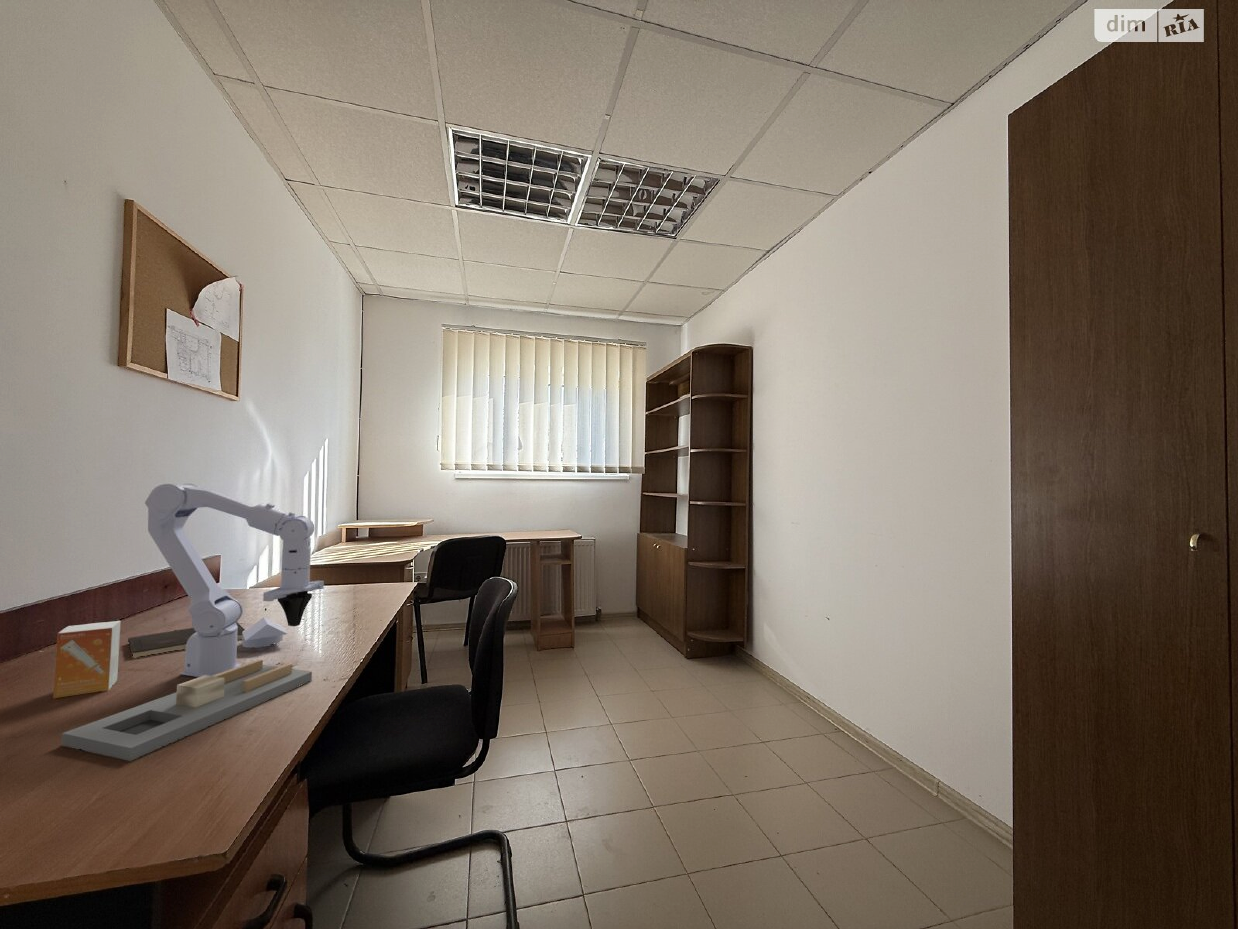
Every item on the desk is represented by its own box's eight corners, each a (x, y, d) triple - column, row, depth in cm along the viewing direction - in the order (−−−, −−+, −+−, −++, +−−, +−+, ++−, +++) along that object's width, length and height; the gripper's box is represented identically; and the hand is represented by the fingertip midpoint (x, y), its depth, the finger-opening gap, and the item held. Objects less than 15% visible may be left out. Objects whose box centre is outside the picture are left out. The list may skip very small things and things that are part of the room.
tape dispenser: (287, 647, 132) (280, 635, 142) (288, 621, 132) (281, 611, 142) (244, 654, 126) (240, 641, 136) (245, 627, 126) (241, 616, 136)
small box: (52, 699, 99) (55, 633, 99) (64, 688, 104) (67, 625, 105) (109, 690, 103) (112, 627, 104) (118, 680, 109) (121, 619, 109)
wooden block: (176, 704, 93) (176, 685, 93) (204, 693, 98) (205, 675, 98) (196, 707, 92) (196, 688, 92) (223, 696, 97) (224, 678, 97)
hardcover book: (247, 640, 138) (247, 632, 138) (131, 661, 121) (131, 652, 121) (235, 628, 149) (236, 620, 149) (127, 646, 132) (128, 637, 132)
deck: (61, 745, 82) (62, 720, 82) (255, 672, 114) (255, 655, 114) (130, 761, 78) (131, 735, 78) (311, 681, 110) (312, 662, 110)
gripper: (281, 574, 111) (279, 635, 111) (334, 564, 125) (332, 618, 125) (257, 572, 113) (254, 632, 113) (311, 562, 127) (309, 616, 127)
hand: (293, 625), depth 119 cm, fingers closed
